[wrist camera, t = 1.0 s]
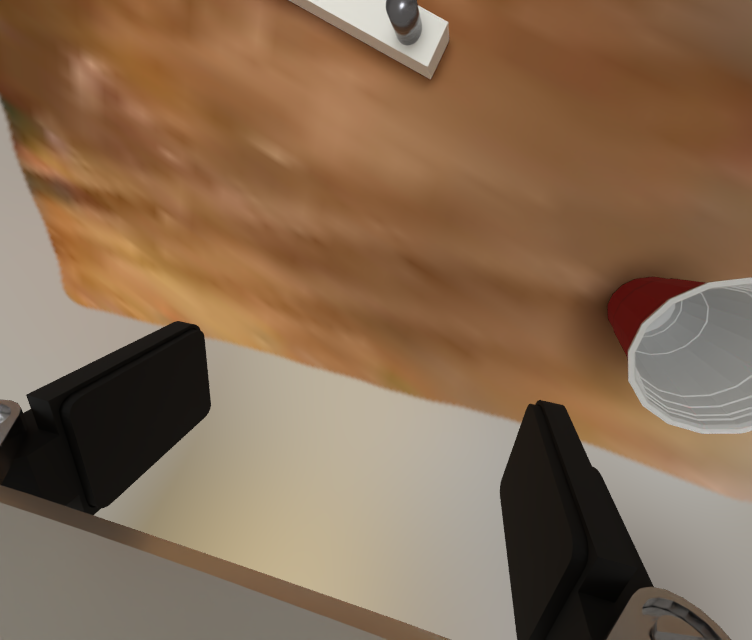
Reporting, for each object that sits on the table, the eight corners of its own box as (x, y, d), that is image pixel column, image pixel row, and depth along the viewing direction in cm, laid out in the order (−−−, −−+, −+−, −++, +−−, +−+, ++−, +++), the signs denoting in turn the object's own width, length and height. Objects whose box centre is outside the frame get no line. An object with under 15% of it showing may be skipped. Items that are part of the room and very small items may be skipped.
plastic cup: (661, 220, 30) (780, 240, 19) (736, 308, 31) (888, 375, 20) (551, 300, 34) (595, 354, 23) (620, 375, 35) (692, 460, 24)
